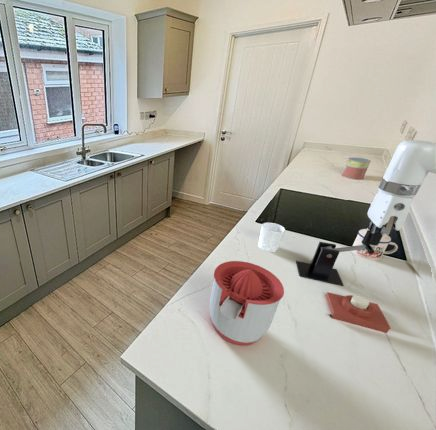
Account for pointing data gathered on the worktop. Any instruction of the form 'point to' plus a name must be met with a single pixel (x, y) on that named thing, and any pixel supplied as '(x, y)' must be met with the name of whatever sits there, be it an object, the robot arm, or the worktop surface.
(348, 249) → the lever
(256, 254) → the worktop surface
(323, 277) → the bracket
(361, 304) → the button
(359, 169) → the canned food
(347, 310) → the button housing
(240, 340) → the citrus juicer
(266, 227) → the white cup
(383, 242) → the teacup with lid
